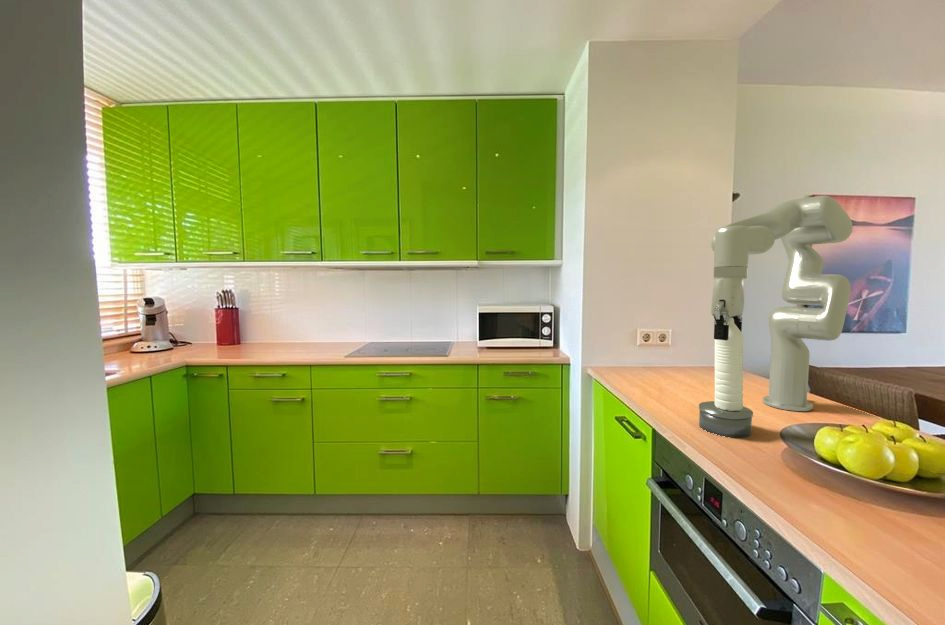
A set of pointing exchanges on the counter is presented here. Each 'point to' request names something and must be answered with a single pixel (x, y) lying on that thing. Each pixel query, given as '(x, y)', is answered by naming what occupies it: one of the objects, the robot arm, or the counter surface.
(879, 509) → the counter surface
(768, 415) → the counter surface
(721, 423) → the cake tin
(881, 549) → the counter surface
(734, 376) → the water bottle
